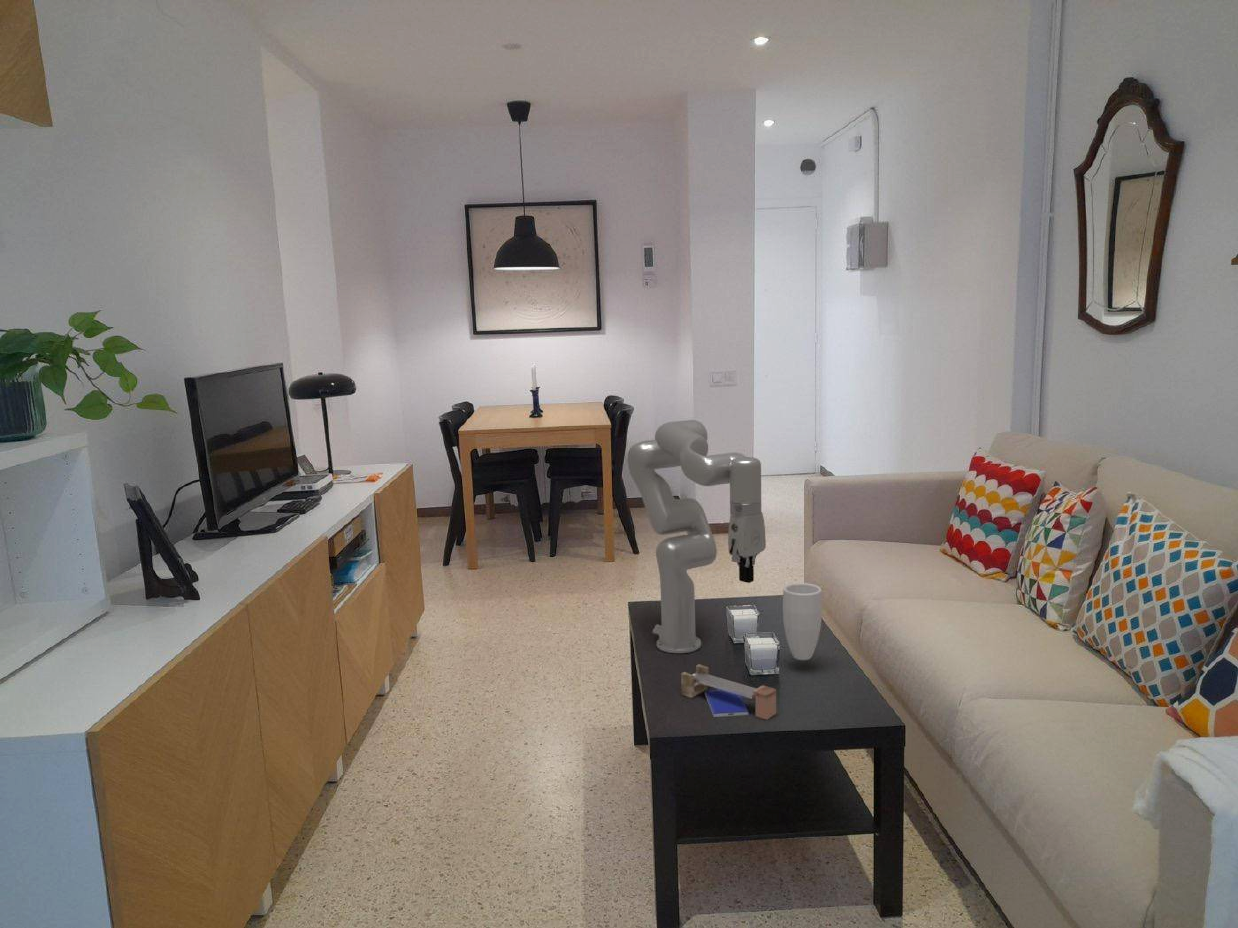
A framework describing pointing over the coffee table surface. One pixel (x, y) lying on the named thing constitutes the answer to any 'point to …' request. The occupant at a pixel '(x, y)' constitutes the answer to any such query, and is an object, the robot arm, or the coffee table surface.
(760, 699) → the block
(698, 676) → the grey long flat bar
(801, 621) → the cup
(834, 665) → the coffee table surface
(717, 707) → the hard drive
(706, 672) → the pivot bracket
